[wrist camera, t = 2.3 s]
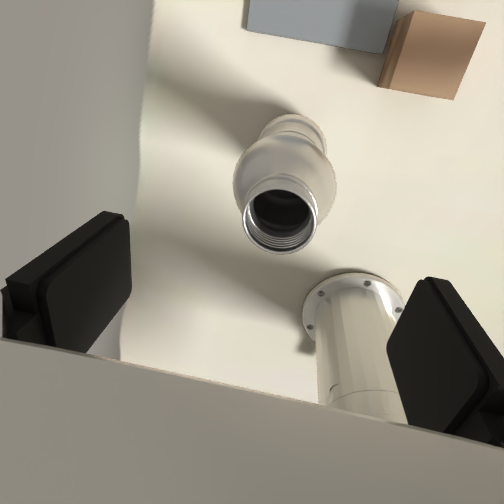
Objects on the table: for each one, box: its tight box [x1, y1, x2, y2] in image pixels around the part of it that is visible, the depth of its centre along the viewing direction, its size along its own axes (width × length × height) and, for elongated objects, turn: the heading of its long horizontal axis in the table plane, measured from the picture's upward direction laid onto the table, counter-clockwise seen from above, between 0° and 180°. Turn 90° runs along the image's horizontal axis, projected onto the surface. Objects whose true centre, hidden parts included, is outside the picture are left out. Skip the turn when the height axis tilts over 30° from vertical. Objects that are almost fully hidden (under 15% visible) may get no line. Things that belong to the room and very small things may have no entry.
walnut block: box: [377, 11, 486, 100], centre depth 26 cm, size 5×5×5 cm
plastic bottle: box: [233, 114, 336, 255], centre depth 24 cm, size 6×7×20 cm
